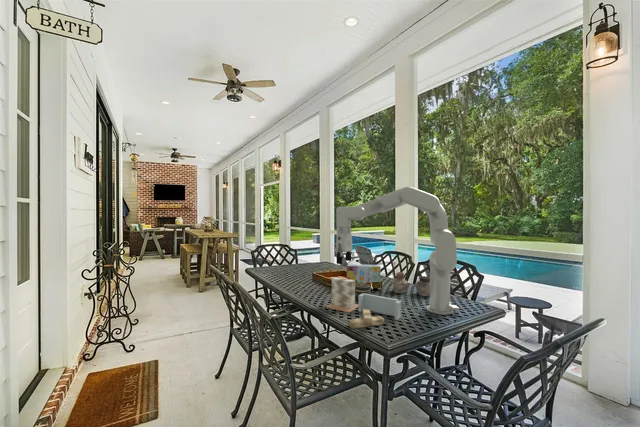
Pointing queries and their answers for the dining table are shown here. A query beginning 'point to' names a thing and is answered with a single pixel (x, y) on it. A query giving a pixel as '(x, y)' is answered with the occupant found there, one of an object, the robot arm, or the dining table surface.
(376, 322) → the block
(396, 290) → the pottery
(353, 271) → the snack box
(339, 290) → the cream block
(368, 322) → the offcut top
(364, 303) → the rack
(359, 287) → the jar
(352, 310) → the tile
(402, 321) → the dining table surface
